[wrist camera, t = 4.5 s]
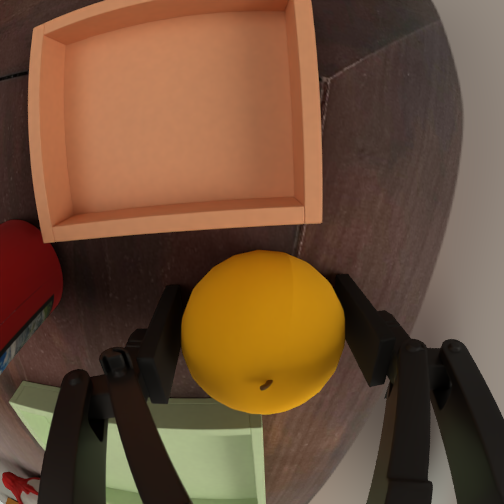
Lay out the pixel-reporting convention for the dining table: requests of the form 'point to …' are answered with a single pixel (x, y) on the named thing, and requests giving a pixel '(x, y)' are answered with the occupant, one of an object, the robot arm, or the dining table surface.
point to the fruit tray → (174, 446)
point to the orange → (262, 332)
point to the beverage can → (25, 285)
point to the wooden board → (11, 501)
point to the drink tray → (175, 117)
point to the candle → (22, 487)
